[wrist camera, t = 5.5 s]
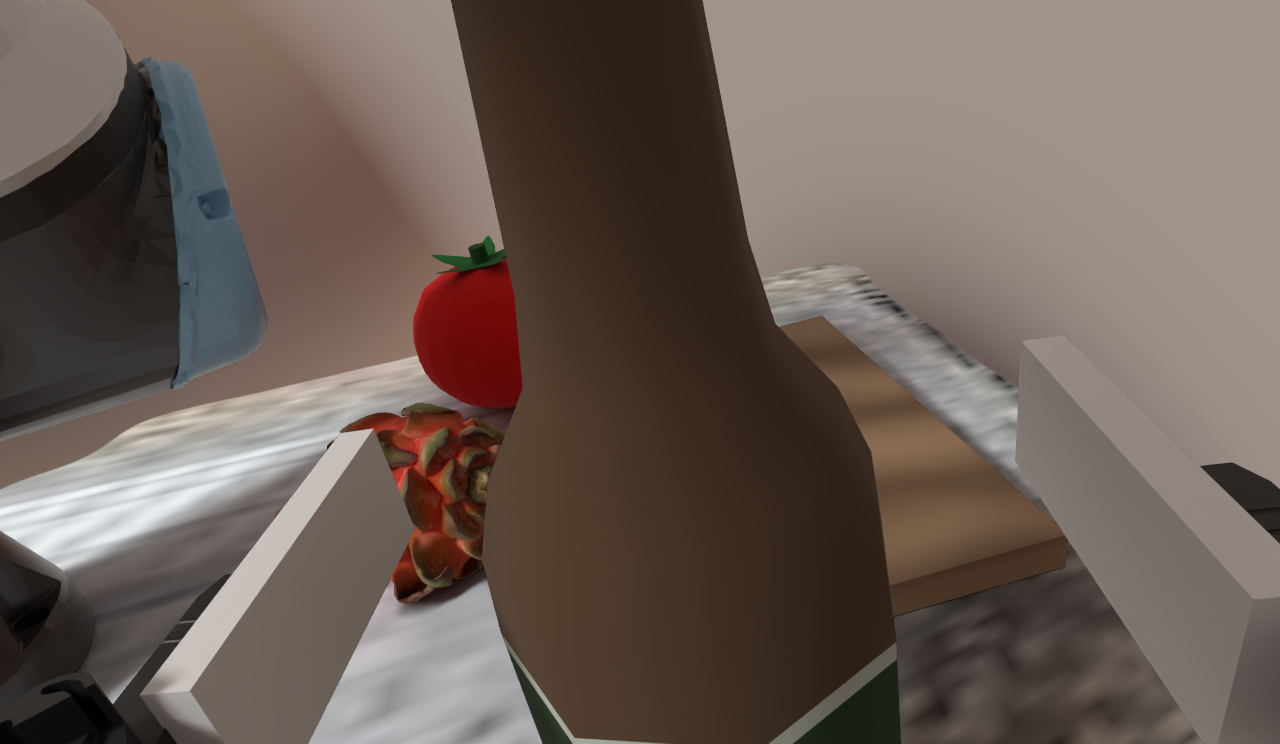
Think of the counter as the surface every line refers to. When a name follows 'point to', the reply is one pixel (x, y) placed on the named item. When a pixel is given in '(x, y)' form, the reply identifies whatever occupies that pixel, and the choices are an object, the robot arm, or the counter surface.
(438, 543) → the dragon fruit
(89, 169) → the robot arm
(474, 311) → the tomato
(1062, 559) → the wooden cutting board
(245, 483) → the counter surface
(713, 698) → the beer bottle
